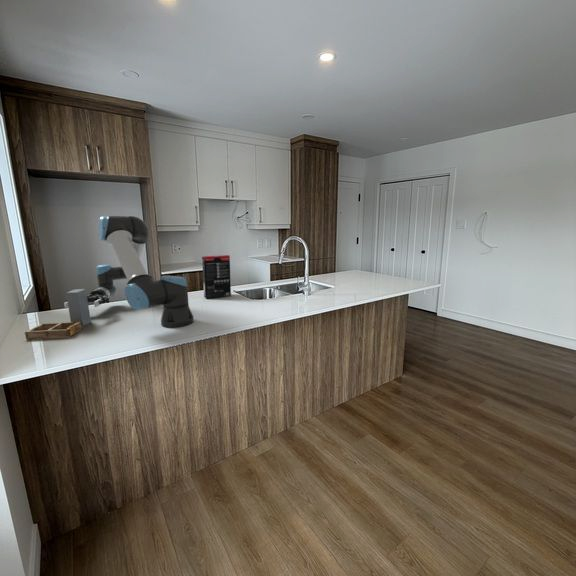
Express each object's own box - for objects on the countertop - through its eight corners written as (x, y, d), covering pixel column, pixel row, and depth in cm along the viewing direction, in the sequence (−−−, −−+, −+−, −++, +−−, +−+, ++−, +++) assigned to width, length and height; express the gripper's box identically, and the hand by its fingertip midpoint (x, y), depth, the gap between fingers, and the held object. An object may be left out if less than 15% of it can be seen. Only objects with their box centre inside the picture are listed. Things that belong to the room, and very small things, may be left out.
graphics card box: (228, 294, 216) (226, 254, 210) (232, 296, 210) (230, 255, 204) (203, 297, 208) (200, 256, 202) (206, 299, 202) (203, 257, 196)
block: (80, 322, 158) (75, 289, 155) (90, 321, 159) (86, 288, 155) (71, 327, 150) (66, 292, 147) (83, 327, 151) (77, 292, 148)
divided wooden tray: (43, 330, 147) (41, 321, 146) (84, 328, 149) (82, 319, 148) (26, 339, 135) (24, 330, 134) (70, 337, 137) (69, 327, 137)
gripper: (124, 300, 178) (108, 311, 157) (76, 303, 174) (53, 313, 154) (122, 287, 176) (106, 296, 156) (74, 289, 173) (51, 298, 152)
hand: (80, 305), depth 155 cm, fingers open, 13 cm apart
